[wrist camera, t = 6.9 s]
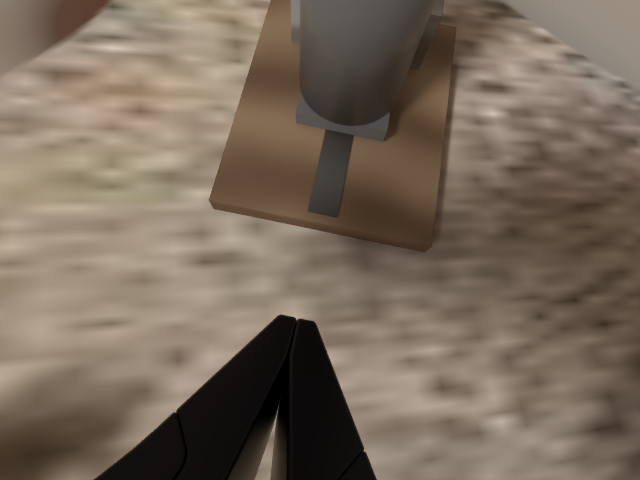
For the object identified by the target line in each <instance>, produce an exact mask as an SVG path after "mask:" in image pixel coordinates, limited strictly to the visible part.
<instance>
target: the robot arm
mask: <svg viewBox="0 0 640 480" xmlns="http://www.w3.org/2000/svg"><path fill="white" fill-rule="evenodd" d="M279 402H280V403H279ZM278 407H279V408H278ZM277 411H278V413H277ZM276 415H277V419H276V427H275V438H274V448H273V458H272V469H271V479H270V480H377V479H376V477H375V474H374V472H373V469H372V467H371V464H370V461H369V459H368V456H367V454H366V452H363V451H364V446H363V444H362V441H361V439H360V436H359V434H358V431H357V428H356V426H355V423H354V421H353V418H352V415H351V413H350V410H349V408H348V405H347V403H346V400H345V397H344V395H343V392H342V390H341V387H340V384H339V382H338V379H337V377H336V374H335V372H334V369H333V366H332V364H331V361H330V359H329V356H328V353H327V351H326V348H325V346H324V343H323V341H322V338H321V335H320V333H319V330H318V328H317V325H316V323H315V322H314V321H310V320H305V319H298V320H296V318H295V317H290V316H285V315H278V316H277V317H276V318H275V319H274V320H273V321H272V322H271V323H270V324H269V325H267V326H266V327H265V328H264V329H263V330H262V331H261V332H260V333H259V334H258V335H257V336H256V337H254V338H253V339H252V340H251V341H250V342H249V343H248V344H247V345H246V346H245V347H244V348H243V349H242V350H240V351H239V352H238V353H237V354H236V355H235V356H234V357H233V358H232V359H231V360H230V361H229V362H228V363H226V364H225V365H224V366H223V367H222V368H221V369H220V370H219V371H218V372H217V373H216V374H215V375H214V376H212V377H211V378H210V379H209V380H208V381H207V382H206V383H205V384H204V385H203V386H202V387H201V388H200V389H198V390H197V391H196V392H195V393H194V394H193V395H192V396H191V397H190V398H189V399H188V400H187V401H186V402H184V403H183V404H182V405H181V406H180V407H179V408H178V409H177V411H176V413H175V412H174V413H172V414H171V415H170V416H169V417H168V418H167V419H166V420H165V421H164V422H163V423H162V424H161V425H159V426H158V427H157V428H156V429H155V430H154V431H153V432H152V433H150V434H149V435H148V436H147V437H146V438H145V439H144V440H142V441H141V442H140V443H139V444H138V445H137V446H136V447H135V448H133V449H132V450H131V451H130V452H128V453H127V454H126V455H125V456H123V457H122V458H121V459H120V460H118V461H117V462H116V463H114V464H113V465H112V466H111V467H109V468H108V469H107V470H106V471H104V472H103V473H102V474H101V475H99V476H98V477H97V478H95V479H94V480H254V479H255V477H256V474H257V471H258V468H259V465H260V462H261V459H262V456H263V454H264V451H265V448H266V445H267V442H268V439H269V436H270V434H271V431H272V428H273V425H274V422H275V418H276Z"/></svg>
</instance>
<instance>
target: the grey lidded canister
mask: <svg viewBox="0 0 640 480" xmlns="http://www.w3.org/2000/svg"><path fill="white" fill-rule="evenodd" d="M435 2H436V0H300V71H299V84H300V90H301V94H300V98H299V102H298V105H297V109H296V123H297V124H302V125H307V126H312V127H317V128H322V129H327V130H331V131H336V132H341V133H346V134H351V135H356V136H361V137H365V138H370V139H375V140H380V141H383V140H384V137H385V135H386V132H387V128H388V122H389V116H390V110H391V109H392V108H393V106H394V104H395V103H396V100H397V98H398V95H399V93H400V90H401V88H402V85H403V83H404V80H405V78H406V75H407V73H408V70H409V68H410V65H411V63H412V60H413V58H414V55H415V52H416V50H417V47H418V45H419V42H420V40H421V37H422V35H423V32H424V30H425V27H426V25H427V22H428V20H429V17H430V15H431V12H432V9H433V7H434V4H435Z"/></svg>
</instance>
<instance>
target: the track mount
mask: <svg viewBox="0 0 640 480" xmlns="http://www.w3.org/2000/svg"><path fill="white" fill-rule="evenodd" d="M443 4H444V0H436V2H435V4H434V7H433V9H432V12H431V15H430V17H429V20H428V22H427V25H426V27H425V30H424V32H423V35H422V37H421V40H420V42H419V45H418V47H417V50H416V52H415V55H414V58H413V60H412V63H411V65H410V68H409V70H408V73H407V75H406V78H405V80H404V83H403V85H402V88H401V90H400V93H399V95H398V98H397V100H396V103H395V104H394V106H393V108H392V109H391V110H390V116H389V122H388V128H387V132H386V135H385V137H384V140H383V141H380V140H375V139H370V138H365V137H361V136H356V135H351V134H346V133H341V132H336V131H331V130H327V129H322V128H317V127H312V126H307V125H302V124H297V123H296V109H297V105H298V102H299V98H300V94H301V90H300V84H299V71H300V0H271V2H270V5H269V8H268V12H267V15H266V18H265V21H264V24H263V28H262V31H261V34H260V37H259V40H258V44H257V47H256V50H255V53H254V57H253V60H252V63H251V66H250V69H249V73H248V76H247V79H246V82H245V86H244V89H243V92H242V95H241V98H240V102H239V105H238V108H237V111H236V114H235V118H234V121H233V124H232V127H231V131H230V134H229V137H228V140H227V143H226V147H225V150H224V153H223V156H222V160H221V163H220V166H219V169H218V172H217V176H216V179H215V182H214V185H213V188H212V192H211V195H210V198H209V201H210V203H211V205H212V207H213V208H214V209H218V210H223V211H228V212H233V213H237V214H242V215H247V216H252V217H257V218H262V219H267V220H271V221H276V222H281V223H286V224H291V225H296V226H300V227H305V228H310V229H315V230H320V231H325V232H330V233H334V234H339V235H344V236H349V237H354V238H359V239H364V240H368V241H373V242H378V243H383V244H388V245H393V246H397V247H402V248H407V249H412V250H417V251H422V252H425V251H427V250H428V249H429V248H430V247H432V242H433V232H434V223H435V214H436V205H437V196H438V187H439V178H440V169H441V160H442V151H443V142H444V133H445V124H446V115H447V106H448V97H449V88H450V79H451V70H452V61H453V52H454V43H455V33H456V28H455V27H450V26H445V25H441V24H439V22H440V20H441V17H442V12H443Z"/></svg>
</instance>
